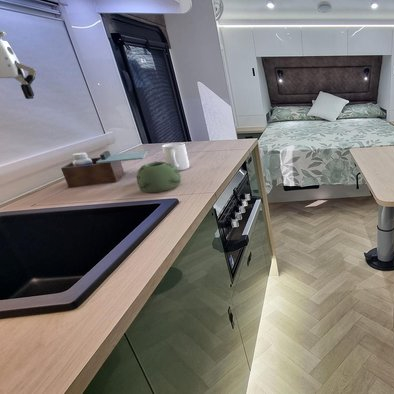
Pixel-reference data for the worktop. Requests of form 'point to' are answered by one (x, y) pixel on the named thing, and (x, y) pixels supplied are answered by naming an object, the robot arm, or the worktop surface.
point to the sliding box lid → (121, 156)
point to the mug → (176, 155)
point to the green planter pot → (158, 177)
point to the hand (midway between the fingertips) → (8, 99)
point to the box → (92, 173)
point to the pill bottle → (81, 159)
